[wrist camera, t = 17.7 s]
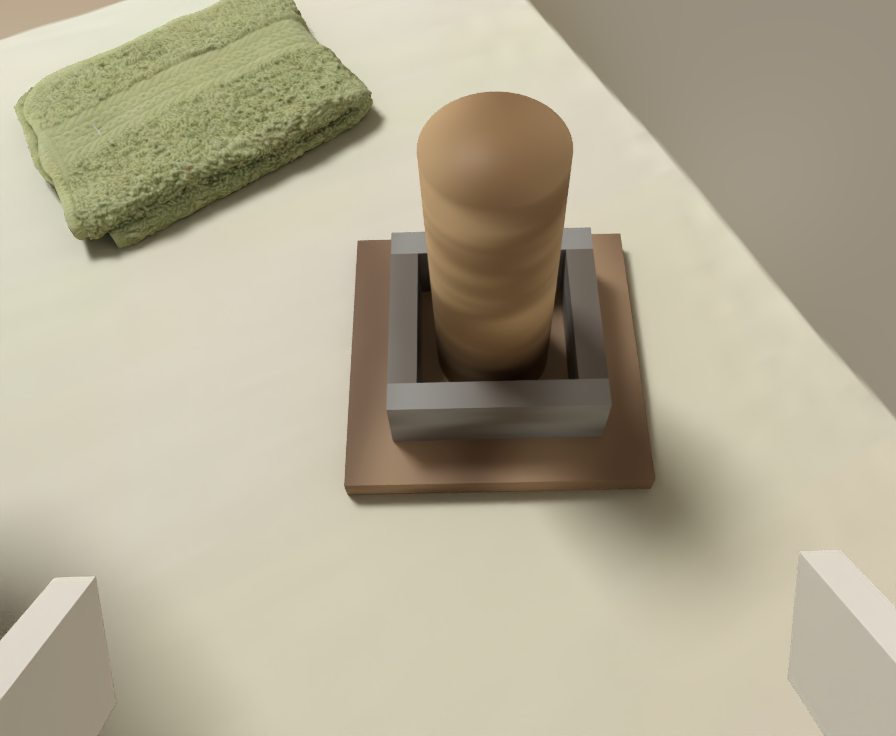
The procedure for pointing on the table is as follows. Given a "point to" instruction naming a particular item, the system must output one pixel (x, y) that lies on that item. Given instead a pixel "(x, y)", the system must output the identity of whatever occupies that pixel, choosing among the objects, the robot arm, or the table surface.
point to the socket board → (495, 385)
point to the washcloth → (185, 116)
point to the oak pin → (494, 231)
